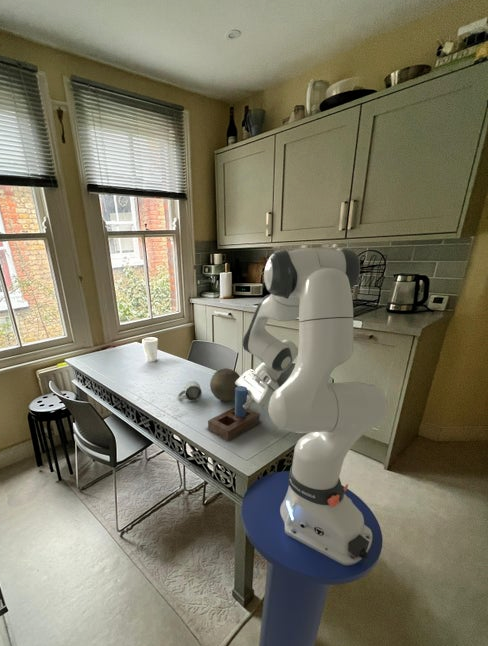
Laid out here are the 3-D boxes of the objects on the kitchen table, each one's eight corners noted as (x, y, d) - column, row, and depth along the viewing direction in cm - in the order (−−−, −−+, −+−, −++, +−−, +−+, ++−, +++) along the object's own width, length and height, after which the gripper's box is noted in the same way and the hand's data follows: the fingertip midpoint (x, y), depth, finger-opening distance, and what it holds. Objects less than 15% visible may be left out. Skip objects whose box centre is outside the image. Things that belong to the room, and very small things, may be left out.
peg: (248, 422, 126) (249, 388, 120) (240, 426, 123) (241, 392, 117) (239, 418, 129) (240, 385, 123) (232, 422, 126) (232, 388, 120)
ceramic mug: (199, 392, 151) (199, 378, 148) (202, 400, 144) (201, 385, 140) (177, 394, 150) (176, 380, 147) (179, 402, 143) (177, 387, 140)
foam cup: (162, 359, 195) (160, 338, 189) (151, 363, 188) (150, 342, 183) (151, 356, 200) (149, 336, 195) (140, 360, 194) (138, 340, 189)
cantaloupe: (205, 395, 148) (205, 366, 142) (234, 391, 151) (234, 362, 145) (215, 410, 136) (215, 378, 129) (246, 405, 139) (247, 373, 132)
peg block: (259, 422, 126) (260, 413, 124) (227, 440, 115) (227, 431, 113) (239, 412, 133) (239, 404, 131) (208, 429, 122) (208, 420, 121)
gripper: (246, 363, 129) (223, 389, 130) (273, 382, 111) (247, 412, 112) (255, 371, 132) (233, 396, 133) (283, 392, 114) (257, 420, 115)
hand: (240, 404), depth 123 cm, fingers closed on peg, 4 cm apart
